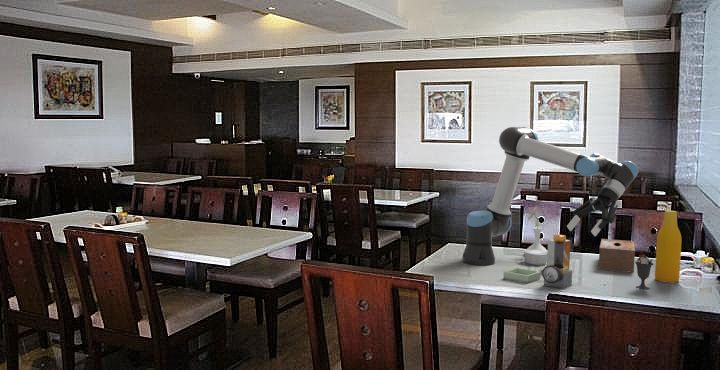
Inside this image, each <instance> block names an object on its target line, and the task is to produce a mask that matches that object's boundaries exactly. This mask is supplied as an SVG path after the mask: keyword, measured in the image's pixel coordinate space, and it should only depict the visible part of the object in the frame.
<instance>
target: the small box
mask: <svg viewBox="0 0 720 370" xmlns="http://www.w3.org/2000/svg"><path fill="white" fill-rule="evenodd" d="M571 243H572V242H571V240H569V239H566V241H565V242H564V259H563V266H567V267H569V268H570V260H571V259H570V258H571ZM554 246H555V241H554V240H553V238H552V239H548V240H547V263H546V266H549V265H554Z"/></svg>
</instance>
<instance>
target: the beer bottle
mask: <svg viewBox="0 0 720 370" xmlns="http://www.w3.org/2000/svg"><path fill="white" fill-rule="evenodd" d="M681 234H682V233H681V231H680V229H679V226H678V215H677V211H676V210H665V211H664V215H663V222H662V225H661V227H660V229H659V230H658V233H657V236H656V251H655V266H654V267H655V268H654V269H655V270H654V279H655V280H656V281H658V280H659V281H658V282H661V281H665V282H664V283H668V282H676V283H678V282H679V281H680V276H681V272H680V271H681V259H682V258H681V256H682V255H681V254H682V241H683V240H682V235H681ZM677 281H678V282H677Z"/></svg>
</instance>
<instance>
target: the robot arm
mask: <svg viewBox="0 0 720 370" xmlns="http://www.w3.org/2000/svg"><path fill="white" fill-rule="evenodd" d="M498 143H499V146H500V148H501V149H502V150H503V151H504V155H505V156H506V157H505V160H504V163H503V167H502V169H501V173H500V176H499V179H498V182H497V185H496V189H495V192H494V195H493V198H492V201H491V203H490V204H488V205H487V207H486V210H473V211H471V212H469V213H468V214H467V217H466V245H465V248H464V251H463V253H462V256H461V261H462V263H464V264H467V263H468V264H467V265H473V264H474V266H490V265H494V264H495V263H496V256H495V253H494V249H493V247H492V246H493V244H492V243H493V238H495V237H500V236H503V235H505V234H506V233H508V232H509V231H510V229H511V227H512V223H513V219H512V218H511V215H512V211H511V209H510V208H511V204H512V202H513V198H514V195H515V193H516V189H517V186H518V183H519V180H520V176H521V174H522V170H523V167H524V165H525V162H526V161H529V159H530V157H531V158H533V159H537V160H539V161H543V162H545V163H549V164H552V165H554V166H559V167H561V168H565V169H567V170H570V171H573V172H576V173H577V174H579V175H581V176H583V177H594V176H602V177H604V178H606V179H608V181H606V183H605V184H604V185H603V187H602V188H601V190H600V191H598V194H597V198H595V199H593V198H592V197H590V198H588V200H586V201H585V202H584V203H583V204H581V205H580V206H578V207H577V208H575V209H574V210H573V211H572V212H571V213H572V214H573V215H574V216H572V218H571V219H570V221H569V223H568V224H567V225H566V227H567V229H568V230H569V232H572V231H573V229H574V228H575V227H576V226H577V225H578V223H579V222H580V220H581V218H583V217H585V216H587V215H588V214H589V215H590V213H593V212H601V219H599V220H598V221H597V223H596V224H595V225H594V226H593V228H592V229H591V231H590V233H591V234H592V235H593V236H594V237H597V236H598V234H599V233H600V231H601V230H603V229H604V228H605V226H606V225H608V224H613V222H614V218H615V214H616V210H617V208H618V207H619V204H617V202H618V200H619V198H620V197H621V196H622V195H623V194H624V192H625V191H626V190H627V188H628V187H629V186H630V185H631V184H632V182H633V181H635V178H636V177H637V176H638V174H639V167H638V166H637V164H635V163H634V162H632V161H630V160H624V161H622V162H621V163H619V162H616V161H615V160H612V159H610V158H608V157H606V156H604V155H602V154H599V153H597V152H594V153H592V154H590V156H589V155H585V154H582V153H579V152H576V151H573V150H570V149H566V148H563V147H560V146H558V145H557V146H556V145H554V144H550V143H546V142H543V141H540V140H539V137H538V134H537V133H536V132H535V130H533V129H532V128H530V127H525V126H510V127H507V128H505V129H503V131H501V133H500V134H499V139H498Z"/></svg>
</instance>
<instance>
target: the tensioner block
mask: <svg viewBox="0 0 720 370" xmlns="http://www.w3.org/2000/svg"><path fill="white" fill-rule="evenodd" d="M541 277H542V279H543V286H545V287H546V286H547V287H551V288H557V289H562V290H564V289H566V288H569V287H571V286H572V283H573V282H572V281H573V269H572V270H571V269H570V266H569V267H567V266H563V268H562V269H561V268H558V267H556V266H554V265H549V266H547V265H546V266H545V267H544V268H543V269H542V271H541Z"/></svg>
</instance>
